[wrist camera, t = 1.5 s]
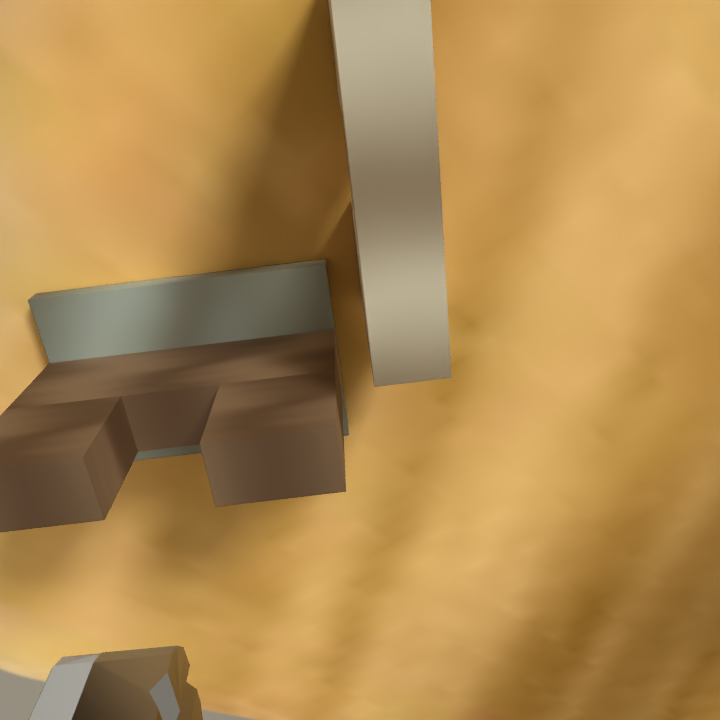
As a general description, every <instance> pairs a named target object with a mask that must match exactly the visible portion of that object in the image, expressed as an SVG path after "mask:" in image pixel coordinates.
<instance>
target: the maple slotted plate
mask: <svg viewBox="0 0 720 720" xmlns="http://www.w3.org/2000/svg"><path fill="white" fill-rule="evenodd" d="M328 8H329V17H330V25H331V34H332V43H333V52H334V60H335V69H336V78H337V86H338V95H339V104H340V108H341V111H342V118H343V127H344V136H345V145H346V153H347V162H348V171H349V180H350V188H351V197H352V201H351V208H352V217H353V226H354V234H355V243H356V252H357V261H358V269H359V278H360V287H361V295H362V304H363V310H364V317H365V324H366V331H367V338H368V345H369V352H370V359H371V366H372V373H373V379H374V386H375V387H378V386H386V385H394V384H403V383H411V382H420V381H428V380H436V379H445V378H451V363H450V345H449V327H448V309H447V291H446V273H445V255H444V237H443V219H442V201H441V183H440V165H439V147H438V129H437V111H436V93H435V75H434V57H433V39H432V21H431V3H430V0H328Z"/></svg>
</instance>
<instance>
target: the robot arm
mask: <svg viewBox="0 0 720 720" xmlns="http://www.w3.org/2000/svg"><path fill="white" fill-rule="evenodd" d="M189 666H190V664H189V661H188V659H187V656H186V653H185V650H184V647H181V646H169V647H158V648H147V649H136V650H125V651H114V652H103V653H99V654H89V655H78V656H68V657H62V658H61V659H60V660H59V661H58V662H57V663H56V664H55V666H54V667H53V668H52V669H51V671H50V674H49V676H48V678H47V680H46V682H45V685H44V687H43V689H42V691H41V693H40V696H39V698H38V700H37V703H36V704H35V707H34V709H33V711H32V713H31V715H30V718H29V720H203V717H202V709H201V702H200V698H199V695H198V691H197V689H196V688H194V687H193V686H191V685H190V684H189V683H187V682H186V680H187V676H188V671H189Z"/></svg>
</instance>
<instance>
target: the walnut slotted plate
mask: <svg viewBox="0 0 720 720" xmlns="http://www.w3.org/2000/svg"><path fill="white" fill-rule="evenodd" d="M28 302H29V305H30V308H31V311H32V314H33V317H34V319H35V322H36V325H37V328H38V331H39V334H40V337H41V340H42V342H43V345H44V348H45V351H46V354H47V357H48V360H49V364H48V365H47V367H46V368H45V369H44V370H43V371H42V372H41V373H40V374H39V375H38V376H37V377H36V378H35V379H34V380H33V381H32V383H31V384H30V385H29V386H28V387H27V388H26V389H25V390H24V391H23V392H22V393H21V394H20V395H19V396H18V397H17V399H16V400H15V401H14V402H13V403H12V404H11V405H10V406H9V407H8V408H7V409H6V410H5V411H4V412H3V414H2V415H1V416H0V532H7V531H16V530H24V529H33V528H41V527H50V526H58V525H67V524H75V523H84V522H92V521H100V520H105V518H106V516H107V514H108V512H109V510H110V508H111V506H112V504H113V502H114V500H115V498H116V495H117V493H118V491H119V489H120V487H121V485H122V483H123V481H124V479H125V477H126V475H127V473H128V471H129V469H130V467H131V465H132V463H133V461H136V460H144V459H152V458H161V457H169V456H178V455H186V454H195V453H202V454H203V458H204V462H205V466H206V470H207V474H208V478H209V482H210V486H211V490H212V494H213V498H214V502H215V506H216V507H219V506H228V505H236V504H244V503H253V502H261V501H270V500H278V499H287V498H295V497H304V496H312V495H321V494H329V493H338V492H346V482H345V458H344V436H347V435H349V431H348V421H347V413H346V406H345V399H344V391H343V384H342V377H341V369H340V362H339V355H338V347H337V340H336V333H335V325H334V318H333V311H332V303H331V296H330V289H329V281H328V274H327V267H326V259H322V260H314V261H306V262H297V263H289V264H281V265H272V266H264V267H255V268H247V269H239V270H230V271H222V272H214V273H205V274H197V275H189V276H180V277H172V278H164V279H155V280H147V281H139V282H130V283H122V284H114V285H105V286H97V287H89V288H80V289H72V290H63V291H55V292H47V293H38V294H35V295H34V296H33V297H31V298H30V299H29V300H28Z"/></svg>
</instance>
